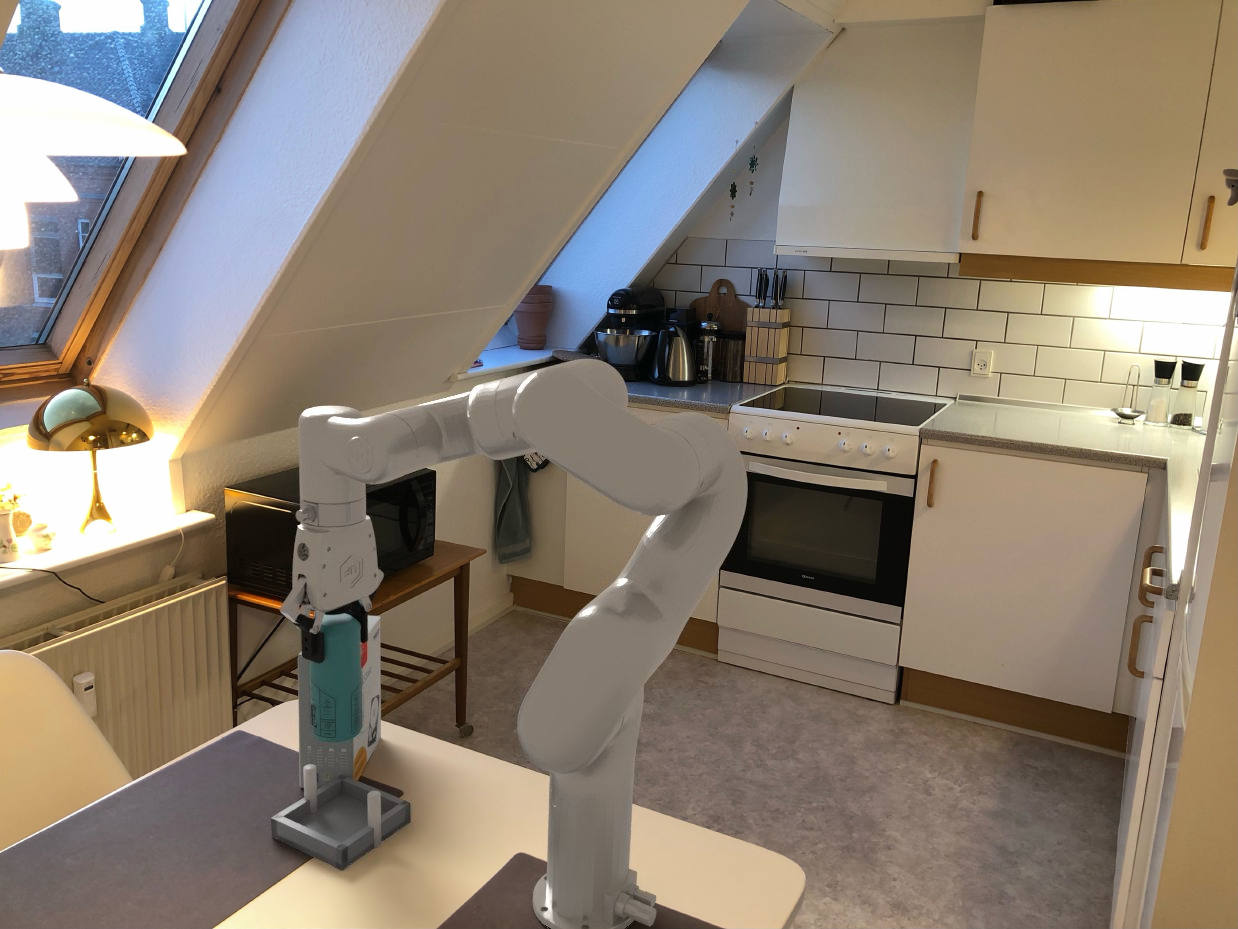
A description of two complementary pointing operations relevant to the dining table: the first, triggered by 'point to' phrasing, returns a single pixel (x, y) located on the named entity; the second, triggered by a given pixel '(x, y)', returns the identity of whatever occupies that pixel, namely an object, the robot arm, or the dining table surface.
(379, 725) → the hard drive box
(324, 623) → the beverage bottle
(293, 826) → the tray
